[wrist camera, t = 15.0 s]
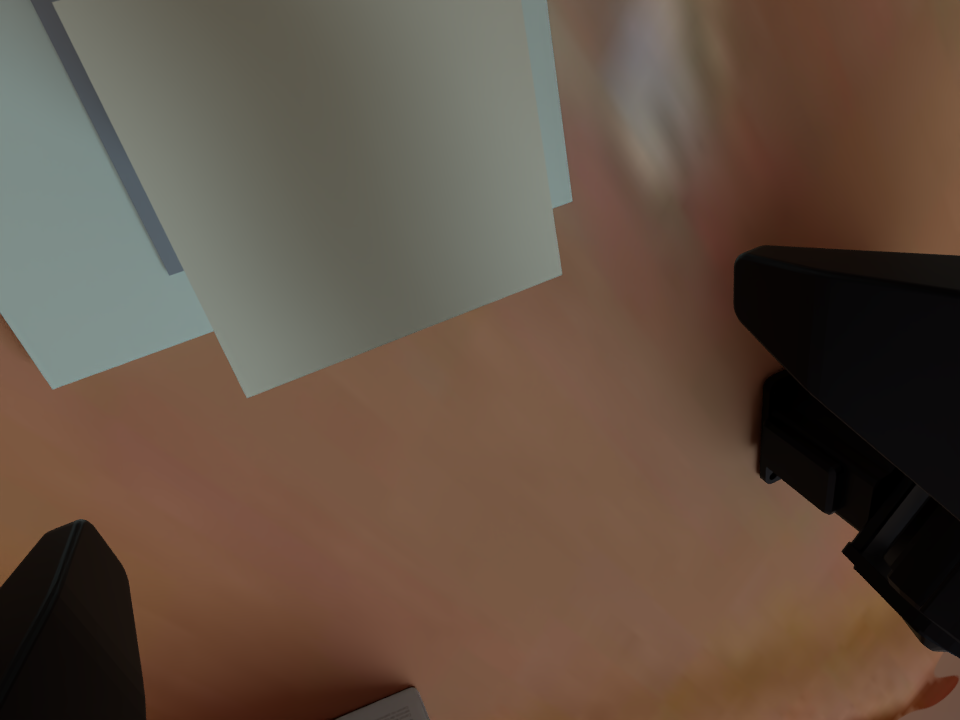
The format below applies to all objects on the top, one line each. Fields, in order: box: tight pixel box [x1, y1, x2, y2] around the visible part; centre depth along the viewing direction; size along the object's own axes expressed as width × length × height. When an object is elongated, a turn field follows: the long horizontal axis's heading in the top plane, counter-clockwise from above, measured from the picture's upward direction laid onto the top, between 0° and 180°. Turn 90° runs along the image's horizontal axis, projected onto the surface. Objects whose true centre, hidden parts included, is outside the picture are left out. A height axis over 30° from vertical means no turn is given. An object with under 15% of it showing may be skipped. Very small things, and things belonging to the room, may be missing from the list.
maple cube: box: [52, 0, 562, 398], centre depth 11 cm, size 5×5×5 cm
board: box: [0, 0, 572, 389], centre depth 17 cm, size 16×12×1 cm
